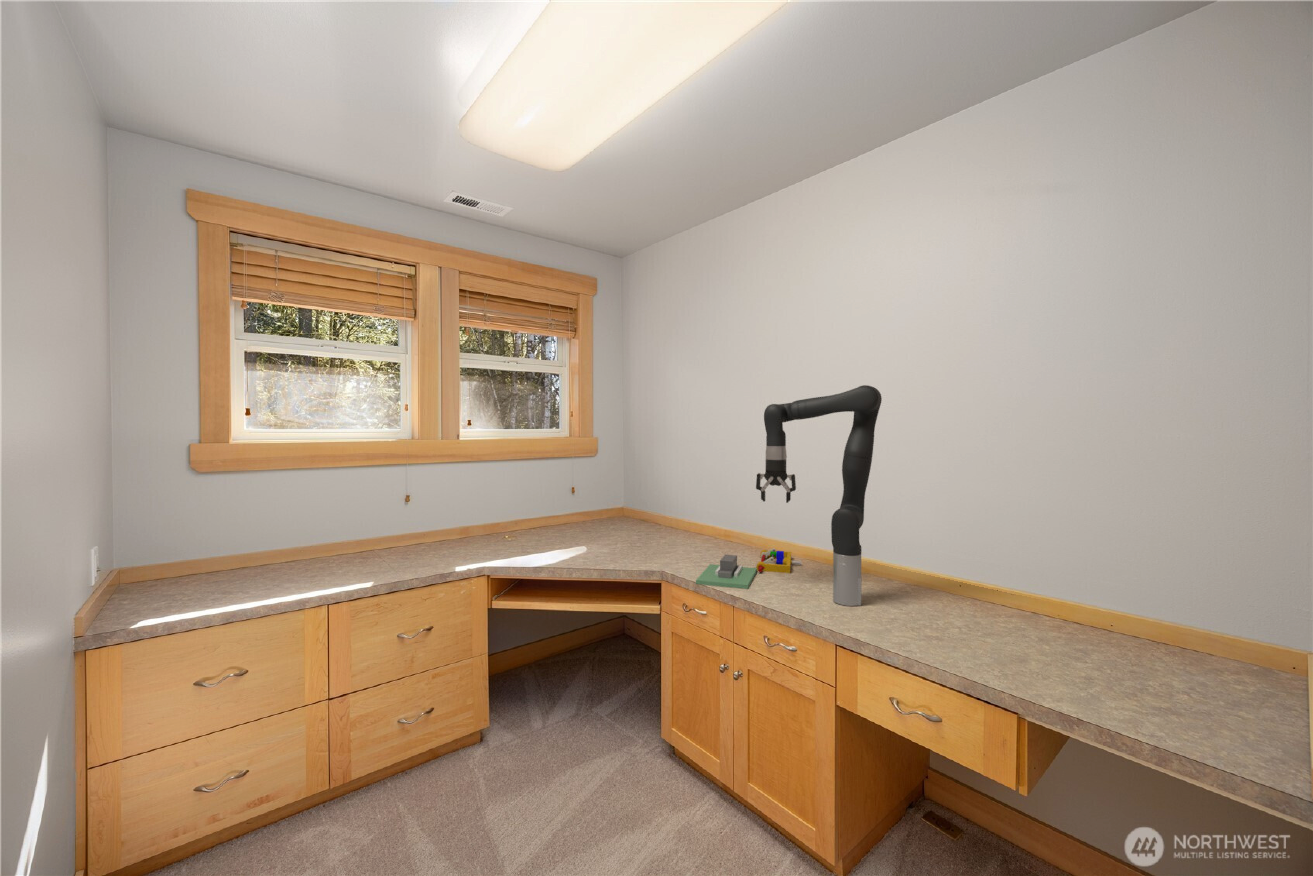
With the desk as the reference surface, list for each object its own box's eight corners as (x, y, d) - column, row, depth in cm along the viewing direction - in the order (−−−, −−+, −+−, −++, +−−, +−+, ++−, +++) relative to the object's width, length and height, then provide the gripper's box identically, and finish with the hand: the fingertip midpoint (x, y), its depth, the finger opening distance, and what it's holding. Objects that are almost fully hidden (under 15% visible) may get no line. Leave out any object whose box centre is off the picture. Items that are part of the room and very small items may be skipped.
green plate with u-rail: (756, 571, 221) (757, 564, 221) (747, 589, 199) (747, 581, 199) (710, 567, 228) (710, 560, 228) (695, 583, 205) (695, 576, 205)
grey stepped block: (725, 568, 221) (725, 554, 221) (737, 569, 219) (737, 555, 219) (718, 577, 209) (718, 562, 208) (730, 578, 207) (730, 563, 207)
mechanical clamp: (755, 559, 219) (760, 543, 248) (755, 574, 219) (760, 556, 248) (801, 562, 214) (801, 545, 243) (801, 578, 214) (801, 559, 243)
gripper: (755, 458, 195) (754, 502, 195) (794, 459, 190) (794, 504, 190) (758, 457, 202) (757, 499, 202) (796, 457, 197) (796, 501, 198)
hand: (775, 501), depth 196 cm, fingers open, 8 cm apart
